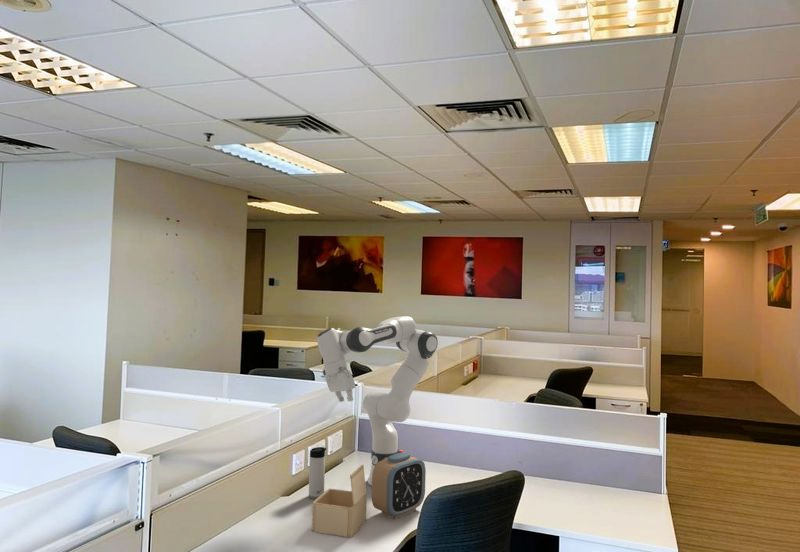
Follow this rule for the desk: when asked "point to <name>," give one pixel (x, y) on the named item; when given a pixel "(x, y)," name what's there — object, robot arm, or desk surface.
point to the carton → (338, 513)
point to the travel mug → (316, 472)
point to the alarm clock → (398, 485)
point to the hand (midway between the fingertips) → (346, 401)
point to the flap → (358, 484)
